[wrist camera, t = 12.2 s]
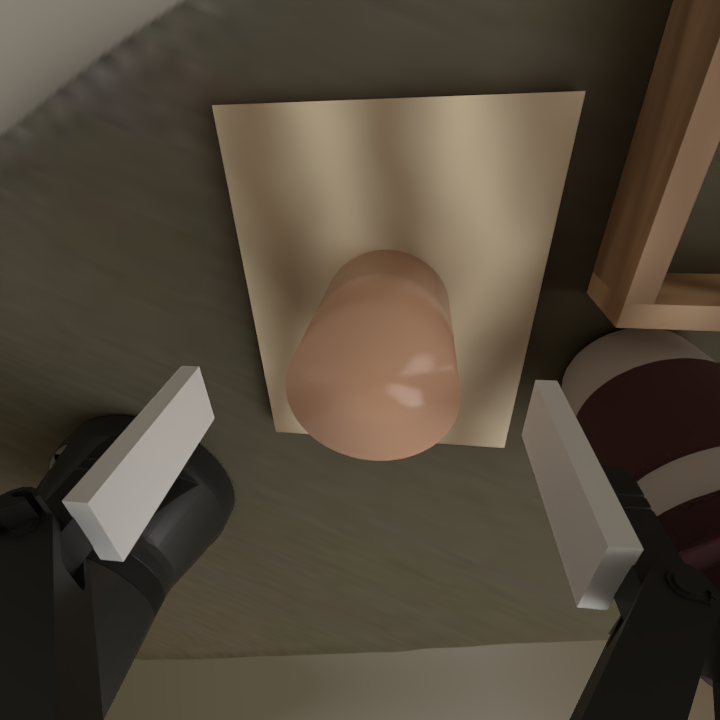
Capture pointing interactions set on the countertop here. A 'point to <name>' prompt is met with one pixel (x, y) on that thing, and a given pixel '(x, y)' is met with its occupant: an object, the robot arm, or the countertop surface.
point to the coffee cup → (657, 430)
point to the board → (403, 220)
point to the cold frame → (665, 184)
